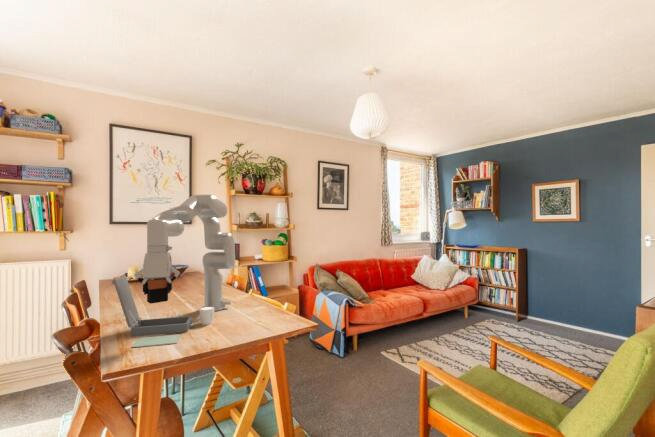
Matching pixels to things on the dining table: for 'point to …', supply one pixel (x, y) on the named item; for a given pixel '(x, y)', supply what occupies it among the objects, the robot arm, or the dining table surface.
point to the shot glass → (206, 315)
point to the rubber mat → (156, 340)
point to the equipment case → (160, 325)
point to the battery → (157, 290)
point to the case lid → (126, 299)
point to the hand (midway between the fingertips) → (157, 292)
